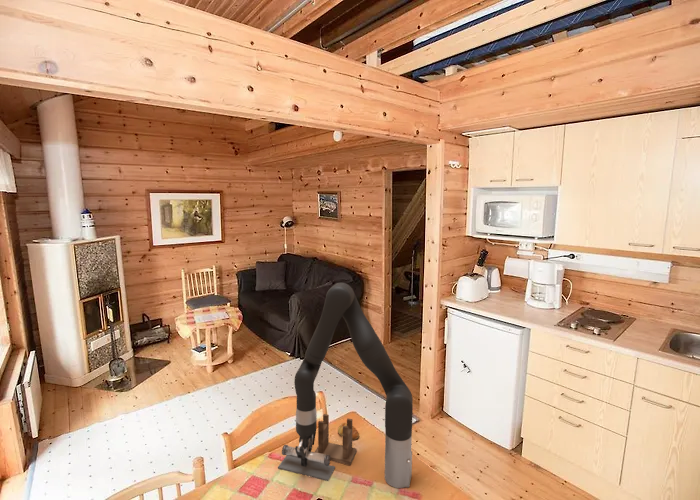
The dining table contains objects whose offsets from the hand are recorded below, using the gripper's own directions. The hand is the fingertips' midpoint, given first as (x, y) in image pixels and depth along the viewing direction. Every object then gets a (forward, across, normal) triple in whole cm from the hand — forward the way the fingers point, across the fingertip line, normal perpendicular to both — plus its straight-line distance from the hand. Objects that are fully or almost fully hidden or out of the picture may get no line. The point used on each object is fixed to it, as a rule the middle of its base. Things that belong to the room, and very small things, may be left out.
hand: (306, 462), depth 131 cm
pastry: (+3, +24, -8) cm, 26 cm away
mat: (+2, 0, 0) cm, 2 cm away
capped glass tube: (-3, 0, 0) cm, 3 cm away
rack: (+2, +10, -8) cm, 13 cm away
